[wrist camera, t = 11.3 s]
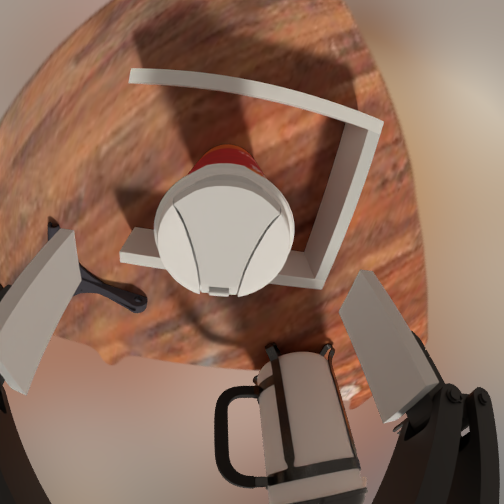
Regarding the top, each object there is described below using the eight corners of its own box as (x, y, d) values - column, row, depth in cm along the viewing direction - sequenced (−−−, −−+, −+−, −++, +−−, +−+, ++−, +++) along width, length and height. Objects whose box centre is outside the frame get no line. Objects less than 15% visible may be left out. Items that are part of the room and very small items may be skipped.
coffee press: (315, 316, 37) (374, 532, 12) (344, 364, 45) (387, 515, 19) (212, 358, 41) (214, 548, 15) (260, 396, 48) (276, 538, 23)
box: (134, 236, 28) (120, 262, 24) (149, 72, 20) (131, 68, 15) (310, 262, 32) (321, 289, 28) (359, 115, 23) (383, 121, 19)
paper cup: (260, 211, 28) (282, 308, 16) (185, 205, 27) (153, 299, 15) (273, 136, 24) (315, 181, 12) (190, 128, 23) (145, 165, 11)
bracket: (142, 331, 37) (138, 345, 35) (56, 300, 34) (49, 312, 31) (158, 254, 31) (153, 268, 28) (52, 219, 27) (41, 229, 25)
